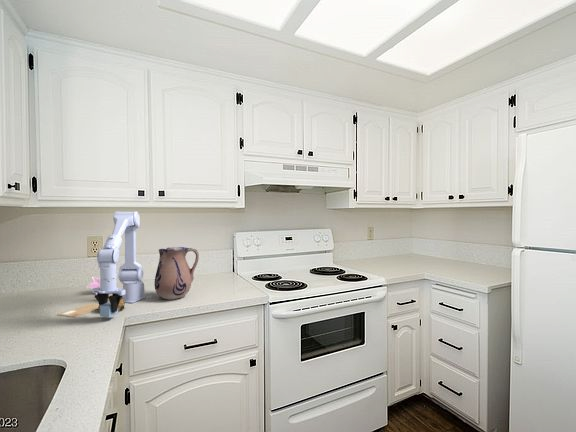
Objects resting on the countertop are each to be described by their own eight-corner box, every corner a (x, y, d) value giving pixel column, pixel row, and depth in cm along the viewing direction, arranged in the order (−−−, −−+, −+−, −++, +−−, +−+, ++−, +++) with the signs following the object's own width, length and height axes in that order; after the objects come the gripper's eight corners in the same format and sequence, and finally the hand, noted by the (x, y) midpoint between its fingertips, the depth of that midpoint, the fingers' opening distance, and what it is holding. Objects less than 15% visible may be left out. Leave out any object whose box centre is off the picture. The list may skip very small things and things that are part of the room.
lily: (82, 298, 154) (86, 283, 151) (89, 284, 164) (93, 270, 161) (108, 302, 159) (112, 288, 156) (113, 288, 169) (118, 275, 166)
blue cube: (109, 312, 125) (109, 301, 125) (118, 313, 124) (118, 302, 124) (100, 316, 121) (99, 305, 121) (109, 317, 120) (108, 306, 120)
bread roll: (118, 313, 140) (113, 297, 141) (131, 307, 135) (126, 290, 137) (96, 320, 131) (91, 303, 132) (110, 314, 126) (105, 295, 128)
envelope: (90, 303, 142) (90, 302, 142) (107, 305, 140) (107, 304, 140) (57, 315, 127) (57, 314, 127) (75, 317, 124) (75, 316, 124)
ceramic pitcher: (153, 295, 156) (153, 247, 156) (195, 289, 166) (194, 244, 165) (155, 304, 141) (155, 251, 140) (201, 298, 150) (201, 248, 150)
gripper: (85, 279, 120) (86, 313, 121) (115, 281, 116) (115, 316, 117) (100, 275, 127) (101, 307, 127) (129, 277, 123) (129, 310, 124)
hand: (109, 311), depth 123 cm, fingers closed on blue cube, 4 cm apart
